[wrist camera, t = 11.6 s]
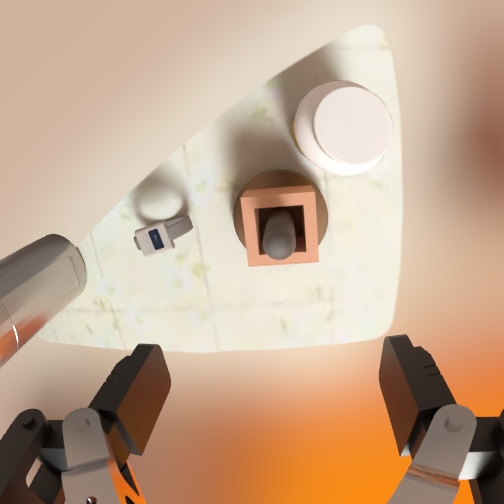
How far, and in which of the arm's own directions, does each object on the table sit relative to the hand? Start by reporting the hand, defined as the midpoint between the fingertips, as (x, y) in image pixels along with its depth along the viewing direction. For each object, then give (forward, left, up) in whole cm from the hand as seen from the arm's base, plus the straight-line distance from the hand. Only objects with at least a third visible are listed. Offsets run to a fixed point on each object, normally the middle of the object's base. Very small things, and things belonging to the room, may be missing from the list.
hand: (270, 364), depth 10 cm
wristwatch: (-11, 0, -22) cm, 25 cm away
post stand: (0, 0, -22) cm, 22 cm away
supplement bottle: (+5, +8, -22) cm, 24 cm away
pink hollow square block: (0, 0, -20) cm, 20 cm away
